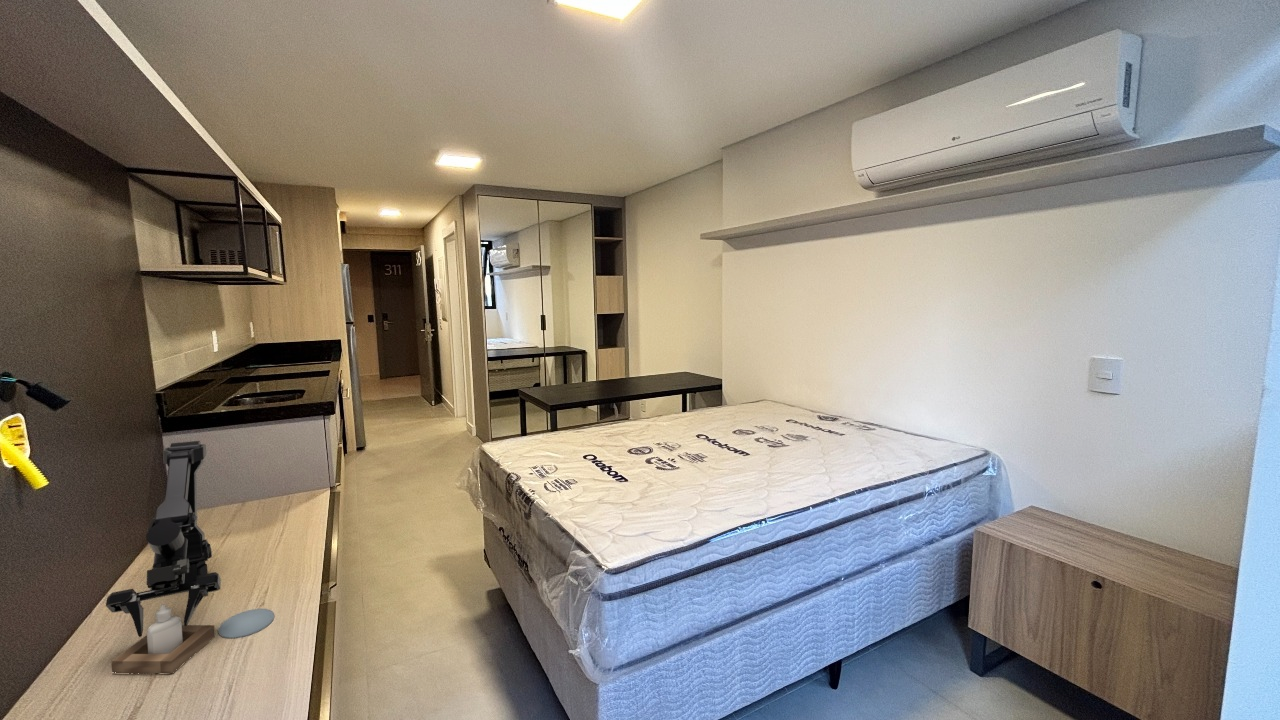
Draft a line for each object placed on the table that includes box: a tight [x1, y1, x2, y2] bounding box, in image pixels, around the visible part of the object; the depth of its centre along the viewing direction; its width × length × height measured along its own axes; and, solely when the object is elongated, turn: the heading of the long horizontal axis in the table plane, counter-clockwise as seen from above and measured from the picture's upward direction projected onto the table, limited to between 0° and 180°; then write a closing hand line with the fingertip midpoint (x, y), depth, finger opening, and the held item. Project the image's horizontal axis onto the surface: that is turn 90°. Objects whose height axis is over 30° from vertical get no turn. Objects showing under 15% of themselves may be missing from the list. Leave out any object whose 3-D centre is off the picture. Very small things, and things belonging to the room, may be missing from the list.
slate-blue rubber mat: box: [217, 608, 275, 639], centre depth 126 cm, size 11×11×1 cm
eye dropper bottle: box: [146, 603, 183, 654], centre depth 114 cm, size 4×6×12 cm
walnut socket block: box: [110, 624, 216, 675], centre depth 115 cm, size 12×12×3 cm
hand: (163, 630), depth 113 cm, fingers open, 7 cm apart
